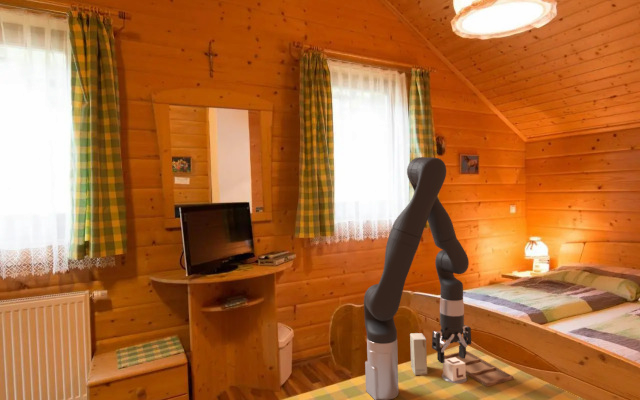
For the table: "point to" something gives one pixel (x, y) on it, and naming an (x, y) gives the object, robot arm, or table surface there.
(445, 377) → the slate coaster
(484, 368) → the tray
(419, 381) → the table surface
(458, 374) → the letter cube
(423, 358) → the skincare box
